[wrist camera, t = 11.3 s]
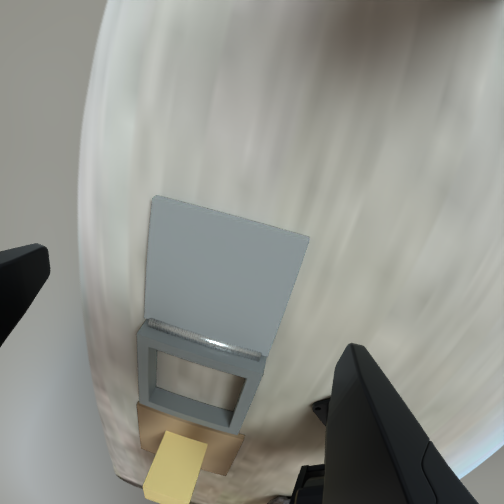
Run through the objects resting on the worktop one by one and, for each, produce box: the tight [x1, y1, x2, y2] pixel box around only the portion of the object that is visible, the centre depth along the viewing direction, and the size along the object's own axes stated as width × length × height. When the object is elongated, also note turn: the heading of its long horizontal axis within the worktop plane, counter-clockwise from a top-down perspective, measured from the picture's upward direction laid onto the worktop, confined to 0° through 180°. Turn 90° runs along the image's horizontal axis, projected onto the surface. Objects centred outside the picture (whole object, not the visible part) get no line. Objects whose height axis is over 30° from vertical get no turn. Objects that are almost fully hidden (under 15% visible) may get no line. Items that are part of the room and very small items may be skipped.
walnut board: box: [137, 402, 245, 476], centre depth 33 cm, size 12×12×1 cm
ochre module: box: [143, 431, 208, 504], centre depth 30 cm, size 5×5×8 cm
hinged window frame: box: [137, 195, 309, 435], centre depth 24 cm, size 10×20×2 cm, turn 167°
